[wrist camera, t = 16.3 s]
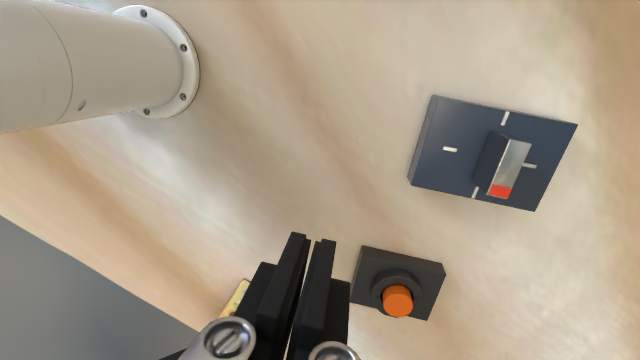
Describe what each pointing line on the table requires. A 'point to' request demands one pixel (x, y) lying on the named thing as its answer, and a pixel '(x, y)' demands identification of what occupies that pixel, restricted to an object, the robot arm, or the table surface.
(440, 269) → the button box
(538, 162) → the console
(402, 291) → the button
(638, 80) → the table surface
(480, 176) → the knob
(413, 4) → the table surface
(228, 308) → the candy box
